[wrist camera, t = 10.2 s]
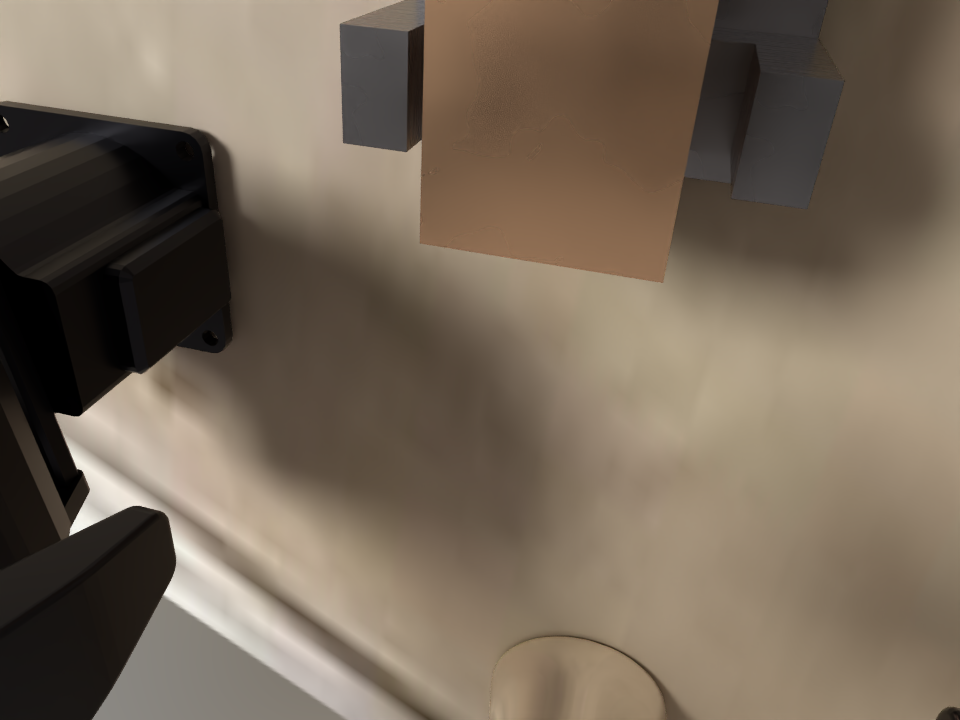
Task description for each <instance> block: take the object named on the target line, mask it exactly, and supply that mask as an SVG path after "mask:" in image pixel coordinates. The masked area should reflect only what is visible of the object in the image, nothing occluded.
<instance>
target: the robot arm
mask: <svg viewBox="0 0 960 720" xmlns="http://www.w3.org/2000/svg"><path fill="white" fill-rule="evenodd" d="M3 117H4V118H5V119H6V120H7V122H8V124H9V127H8V126H7V125H6V123H5V121H4V119H3ZM185 142H186V143H189V145H190V146H191V147H192V148H193V151H194V156H191V155H190V154H189V153H188V152H187V151H186V148H185ZM230 300H231V291H230V282H229V274H228V265H227V256H226V247H225V239H224V230H223V221H222V218H221V217H220V215H219V213H218V204H217V196H216V187H215V179H214V170H213V162H212V153H211V148H210V144H209V142H208V140H207V139H206V137H205V136H204V135H203V134H202V133H201V132H200V131H198V130H196V129H193V128H189V127H182V126H176V125H169V124H162V123H155V122H148V121H141V120H134V119H127V118H120V117H113V116H106V115H99V114H93V113H86V112H79V111H72V110H65V109H58V108H51V107H44V106H37V105H30V104H23V103H17V102H10V101H3V102H0V720H92V719H93V717H94V716H95V714H96V713H97V711H98V710H99V708H100V706H101V705H102V703H103V702H104V700H105V699H106V697H107V696H108V694H109V693H110V691H111V690H112V688H113V686H114V684H115V683H116V681H117V679H118V678H119V676H120V674H121V672H122V670H123V669H124V667H125V665H126V663H127V661H128V659H129V658H130V656H131V654H132V652H133V650H134V648H135V646H136V645H137V643H138V641H139V639H140V637H141V635H142V633H143V631H144V630H145V627H146V626H147V624H148V622H149V620H150V618H151V617H152V615H153V613H154V611H155V609H156V607H157V605H158V603H159V602H160V600H161V598H162V596H163V594H164V592H165V590H166V589H167V587H168V585H169V583H170V581H171V579H172V577H173V574H174V571H175V567H176V555H175V549H174V544H173V539H172V534H171V528H170V523H169V519H168V517H167V516H166V515H165V513H163V512H161V511H158V510H154V509H150V508H146V507H142V506H132V507H129V508H127V509H124V510H122V511H120V512H118V513H116V514H114V515H112V516H110V517H108V518H106V519H104V520H102V521H100V522H98V523H96V524H93V525H91V526H89V527H87V528H85V529H83V530H81V531H79V532H77V533H75V534H73V535H71V536H69V533H70V528H71V526H72V524H73V522H74V520H75V518H76V516H77V514H78V513H79V511H80V509H81V507H82V505H83V503H84V501H85V499H86V497H87V495H88V493H89V491H90V488H89V486H88V483H87V481H86V478H85V476H84V473H83V472H82V470H79V469H77V468H76V466H75V463H74V461H73V458H72V456H71V453H70V451H69V448H68V446H67V443H66V441H65V438H64V436H63V434H62V431H61V429H60V426H59V424H58V421H57V419H56V416H55V413H61V414H66V415H70V416H80V415H81V414H83V413H84V412H85V411H86V410H87V409H89V408H90V407H91V406H92V405H94V404H95V403H96V402H97V401H98V400H100V399H101V398H102V397H103V396H104V395H106V394H107V393H108V392H109V391H110V390H112V389H113V388H114V387H115V386H117V385H118V384H119V383H120V382H121V381H123V380H124V379H125V378H126V377H127V376H129V375H130V374H131V373H132V372H133V373H138V374H142V373H145V372H146V371H147V370H149V369H150V368H151V367H152V366H153V365H154V364H156V363H157V362H158V361H159V360H160V359H162V358H163V357H164V356H165V355H166V354H168V353H169V352H170V351H171V350H172V349H173V348H175V347H176V346H181V347H186V348H191V349H195V350H200V351H205V352H210V353H219V352H221V351H223V350H224V349H225V348H226V347H227V346H228V345H229V344H230V343H231V341H232V337H233V333H232V324H231V316H230V307H229V301H230ZM210 331H212V332H213V333H214V334H215V335H216V336H217V338H218V339H216V338H214V337H213V336H212V335H211V333H210ZM936 720H960V708H956V707H947V708H945V709H943V710H942V711H941V712H940V714H939V715H938V717H937V719H936Z"/></svg>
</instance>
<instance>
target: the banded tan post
mask: <svg viewBox="0 0 960 720" xmlns="http://www.w3.org/2000/svg"><path fill="white" fill-rule="evenodd" d="M718 3H719V0H425V23H424V70H423V118H422V165H421V213H420V243H421V244H427V245H433V246H440V247H446V248H452V249H458V250H464V251H470V252H476V253H483V254H489V255H495V256H501V257H507V258H513V259H520V260H526V261H532V262H538V263H544V264H550V265H556V266H563V267H569V268H575V269H581V270H587V271H593V272H599V273H606V274H612V275H618V276H624V277H630V278H636V279H642V280H649V281H655V282H661V283H663V280H664V275H665V270H666V265H667V260H668V255H669V250H670V245H671V240H672V235H673V230H674V225H675V220H676V215H677V209H678V204H679V199H680V194H681V189H682V184H683V179H684V174H685V169H686V164H687V159H688V154H689V149H690V144H691V139H692V134H693V129H694V124H695V119H696V114H697V109H698V104H699V99H700V94H701V89H702V83H703V78H704V73H705V68H706V63H707V58H708V53H709V48H710V43H711V38H712V33H713V28H714V23H715V18H716V13H717V8H718Z"/></svg>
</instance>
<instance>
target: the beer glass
mask: <svg viewBox="0 0 960 720" xmlns="http://www.w3.org/2000/svg"><path fill="white" fill-rule="evenodd" d="M489 720H666V707H665V702H664V698H663V695H662V693H661V691H660V689H659V687H658V686H657V684H656V683H655V681H654V680H653V679H652V677H651V676H650V675H649V674H648V673H647V672H646V671H645V670H644V669H643V668H642V667H641V666H639V665H638V664H637V663H636V662H634V661H633V660H632V659H630V658H629V657H627V656H625V655H624V654H622V653H620V652H618V651H616V650H614V649H612V648H610V647H608V646H605V645H603V644H600V643H597V642H593V641H590V640H586V639H581V638H575V637H567V636H548V637H540V638H535V639H531V640H528V641H525V642H522V643H520V644H518V645H516V646H514V647H512V648H511V649H509V650H508V651H507V652H506V653H504V654H503V655H502V657H501V658H500V659H499V661H498V662H497V664H496V666H495V668H494V671H493V674H492V680H491V691H490V708H489Z"/></svg>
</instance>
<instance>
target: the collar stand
mask: <svg viewBox="0 0 960 720" xmlns="http://www.w3.org/2000/svg"><path fill="white" fill-rule="evenodd" d="M827 3H828V0H719V3H718V8H717V13H716V18H715V23H714V28H713V33H712V38H711V43H710V48H709V53H708V58H707V63H706V68H705V73H704V78H703V83H702V89H701V94H700V99H699V104H698V109H697V114H696V119H695V124H694V129H693V134H692V139H691V144H690V149H689V154H688V159H687V164H686V169H685V174H684V177H688V178H695V179H702V180H709V181H716V182H724V183H731V199H738V200H745V201H752V202H759V203H766V204H773V205H780V206H787V207H794V208H801V209H808V205H809V202H810V199H811V195H812V192H813V188H814V185H815V181H816V178H817V175H818V171H819V168H820V164H821V161H822V157H823V154H824V150H825V147H826V144H827V140H828V137H829V133H830V130H831V126H832V123H833V119H834V116H835V113H836V109H837V106H838V102H839V99H840V95H841V92H842V88H843V85H844V82H845V81H844V79H843V78H842V76H841V74H840V73H839V71H838V69H837V68H836V66H835V64H834V63H833V61H832V59H831V58H830V56H829V55H828V53H827V51H826V50H825V48H824V46H823V45H822V43H821V41H820V40H819V38H818V37H819V33H820V30H821V26H822V22H823V18H824V15H825V11H826V7H827ZM424 23H425V0H404V1H401V2H398V3H396V4H393V5H390V6H387V7H385V8H382V9H379V10H376V11H374V12H371V13H368V14H365V15H363V16H360V17H357V18H354V19H352V20H349V21H346V22H343V23H341V24H340V50H341V85H342V119H343V143H346V144H353V145H360V146H367V147H374V148H381V149H388V150H395V151H402V152H407V151H408V150H410V149H411V148H412V147H413V146H414V145H416V144H417V143H418V142H419V141H420V140H422V118H423V70H424Z"/></svg>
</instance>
